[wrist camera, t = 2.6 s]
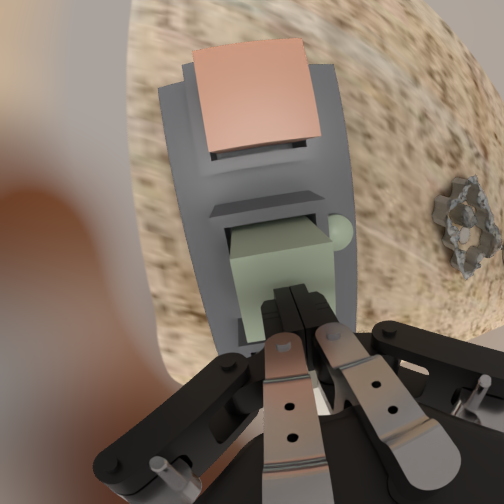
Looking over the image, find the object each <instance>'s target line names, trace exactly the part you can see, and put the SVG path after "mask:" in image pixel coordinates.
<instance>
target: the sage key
mask: <svg viewBox="0 0 504 504" xmlns="http://www.w3.org/2000/svg"><path fill="white" fill-rule="evenodd" d="M230 264H231V269H232V274H233V278H234V283H235V288H236V293H237V297H238V302H239V306H240V311H241V316H242V320H243V325H244V329H245V334H246V338H247V343H250V342H256V341H262V340H266V339H265V333H264V327H263V320H262V314H261V308H260V307H261V305H262V304H263V302H264V301H266V300H272V299H274V293H273V289H275V288H281V287H287V286H288V287H289V286H292V285H297V284H303V283H304V284H305V286H306V288H307V290H308V292H314V291H317V292H319V293H321V294H322V295H324V297H325V298H326V300H327V302H328V303H329V305H330V307H331V309H332V310H333V312H334V314H335V315H336V300H335V270H334V251H333V241H332V240H331V239H330V238H329V237H328V236H326V235H325V234H324V233H323V232H322V231H321V230H320V229H319V228H318V227H317V226H316V225H315V224H314V223H313V222H312V221H310V220H309V219H308V218H307V217H306V216H305V215H303V216H297V217H290V218H284V219H278V220H272V221H266V222H260V223H254V224H248V225H242V226H236V227H232V234H231V247H230Z"/></svg>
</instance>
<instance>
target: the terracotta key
mask: <svg viewBox="0 0 504 504" xmlns="http://www.w3.org/2000/svg"><path fill="white" fill-rule="evenodd" d="M192 53H193V60H194V66H195V73H196V79H197V85H198V92H199V98H200V104H201V110H202V116H203V122H204V127H205V133H206V139H207V145H208V150H209V152H211V153H217V154H220V153H226V152H231V151H237V150H243V149H249V148H256V147H262V146H269V145H277V144H285V143H293V142H298V141H302V140H307V139H311V138H316V137H320V136H321V131H320V124H319V118H318V113H317V107H316V101H315V96H314V91H313V86H312V81H311V76H310V72H309V67H308V62H307V58H306V54H305V50H304V45H303V41H302V38H291V39H272V40H260V41H250V42H242V43H235V44H228V45H222V46H216V47H210V48H205V49H200V50H196V51H192Z"/></svg>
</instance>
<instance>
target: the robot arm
mask: <svg viewBox="0 0 504 504" xmlns="http://www.w3.org/2000/svg"><path fill="white" fill-rule="evenodd" d="M503 260H504V252H503ZM273 293H274V299H272V300H266V301H264V302H263V304H262V305H261V307H260V308H261V314H262V320H263V327H264V333H265V339H266V342H265V346H264V348H263V349H262V350H261V351H260V352H258V353H257V354H255V355H253V356H251V357H248V358H246V357H245V356H244V355H242V354H240V353H235V352H231V353H225V354H222V355H219V356H218V357H216V358H215V359H214V360H212V361H211V362H210V363H209V364H208V365H207V366H206V367H205V368H203V369H202V370H201V371H200V372H199V373H198V374H197V375H195V376H194V377H193V378H192V379H191V380H190V381H189V382H187V383H186V384H185V385H184V386H183V387H182V388H181V389H180V390H178V391H177V392H176V393H175V394H173V395H172V396H171V397H170V398H169V399H167V400H166V401H165V402H164V403H163V404H162V405H160V406H159V407H158V408H157V409H155V410H154V411H153V412H152V413H151V414H149V415H148V416H147V417H146V418H144V419H143V420H142V421H141V422H139V423H138V424H137V425H136V426H134V427H133V428H132V429H130V430H129V431H128V432H127V433H126V434H124V435H123V436H121V437H120V438H119V439H118V440H116V441H115V442H114V443H112V444H111V445H110V446H108V447H107V448H106V449H104V450H103V451H102V452H100V453H99V454H98V455H97V457H96V458H95V460H94V462H93V471H94V474H95V476H96V477H97V478H98V479H99V480H100V481H101V482H102V483H104V484H105V485H107V486H108V487H109V488H110V489H111V490H112V491H113V492H115V493H116V494H117V495H119V496H120V497H122V498H123V499H125V500H127V501H128V502H129V503H130V504H504V352H501V351H497V350H494V349H490V348H486V347H483V346H479V345H475V344H472V343H468V342H465V341H461V340H457V339H454V338H450V337H447V336H443V335H440V334H437V333H433V332H430V331H426V330H423V329H419V328H416V327H413V326H409V325H406V324H403V323H399V322H396V321H382V322H379V323H377V324H376V325H375V326H374V327H373V329H372V333H354V332H352V331H351V329H350V328H349V327H348V326H347V325H345V324H342V323H340V322H339V321H338V319H337V317H336V315H335V314H334V312H333V310H332V309H331V307H330V305H329V303H328V302H327V300H326V298H325V297H324V295H322V294H321V293H319V292H317V291H314V292H308V290H307V288H306V286H305V284H304V283H303V284H297V285H292V286H289V287H288V286H287V287H281V288H275V289H273ZM401 360H404V361H407V362H410V363H413V364H416V365H418V366H421V367H424V368H426V369H427V370H428V372H429V375H425V374H422V373H419V372H416V371H413V370H410V369H407V368H404V367H402V366H400V362H401ZM307 368H308V370H307ZM313 370H315V372H316V375H317V385H318V388H319V390H320V392H321V394H322V397H323V399H324V401H325V403H326V406H327V408H328V410H329V412H330V415H318V412H317V407H316V402H315V396H314V391H313V386H312V381H311V377H310V374H308V371H313ZM260 408H263V410H264V433H262V434H260V435H258V436H257V437H255V438H254V439H253V440H251V441H250V442H248V443H247V444H246V445H245V446H244V447H243V448H242V449H241V450H240V451H239V453H238V454H237V455H236V456H235V457H234V459H233V460H232V461H231V462H230V463H229V465H228V466H227V467H226V468H225V469H224V470H223V471H222V473H221V474H220V475H219V476H218V477H217V478H216V479H215V481H214V482H213V483H212V484H211V485H210V486H209V487H208V488H207V489H206V490H205V491H204V492H203V493H202V494H201V495H200V496H199V497H198V498H197V496H198V495H199V493H200V492H201V489H202V484H201V481H200V479H199V477H200V476H201V475H202V474H203V473H204V472H205V471H206V470H207V469H208V468H209V467H210V466H211V465H212V464H213V463H214V462H215V461H216V460H217V459H218V458H219V457H220V456H221V455H222V454H223V453H224V451H226V450H227V448H228V447H229V446H230V445H231V444H232V443H233V442H234V441H235V440H236V439H237V438H238V436H239V435H240V434H241V433H242V432H243V431H244V430H245V428H246V427H247V426H248V425H249V424H250V423H251V422H252V420H253V419H254V418H255V417H256V416H257V414H258V412H259V409H260ZM196 498H197V499H196ZM195 499H196V501H195ZM194 501H195V502H194Z"/></svg>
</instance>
